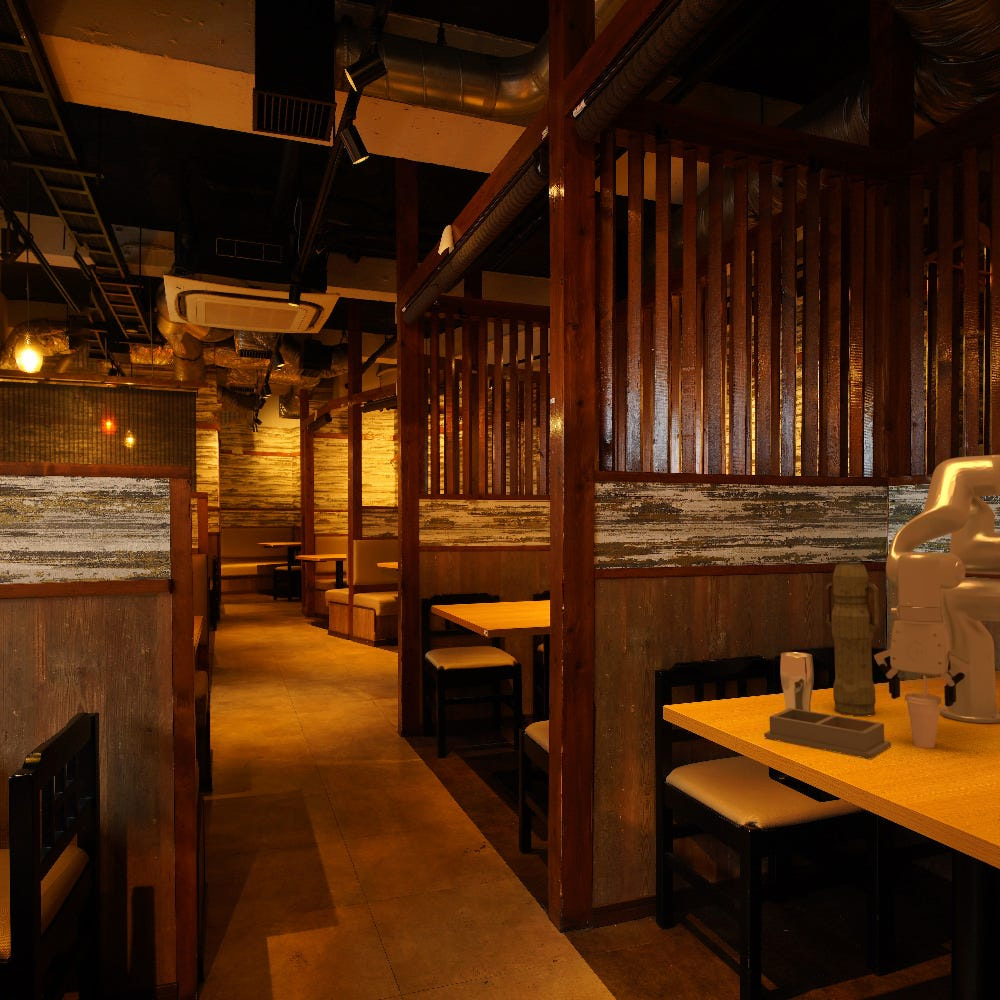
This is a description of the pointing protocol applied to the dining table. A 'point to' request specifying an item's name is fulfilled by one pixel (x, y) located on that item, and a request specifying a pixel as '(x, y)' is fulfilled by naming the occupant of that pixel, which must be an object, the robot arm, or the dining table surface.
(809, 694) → the beer glass
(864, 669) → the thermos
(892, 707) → the dining table surface
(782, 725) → the drink carrier
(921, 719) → the smoothie
